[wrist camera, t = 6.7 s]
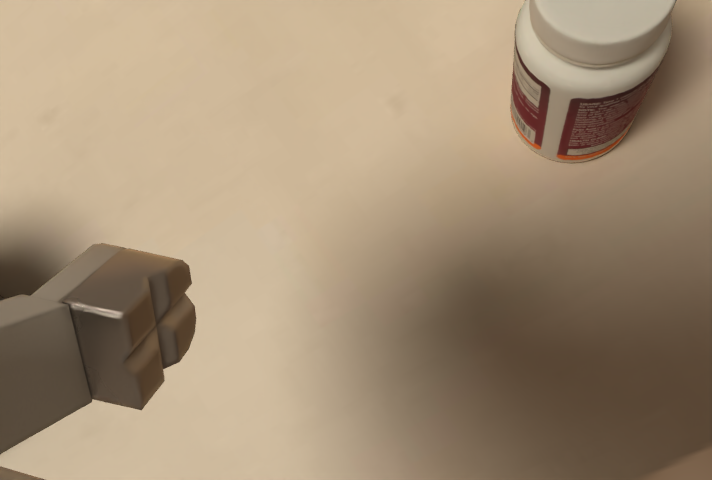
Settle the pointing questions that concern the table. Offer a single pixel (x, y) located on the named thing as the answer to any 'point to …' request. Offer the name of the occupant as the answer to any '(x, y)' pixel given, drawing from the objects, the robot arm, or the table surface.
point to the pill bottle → (584, 72)
